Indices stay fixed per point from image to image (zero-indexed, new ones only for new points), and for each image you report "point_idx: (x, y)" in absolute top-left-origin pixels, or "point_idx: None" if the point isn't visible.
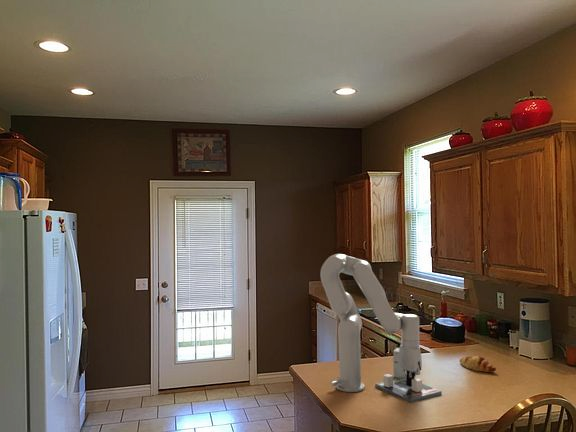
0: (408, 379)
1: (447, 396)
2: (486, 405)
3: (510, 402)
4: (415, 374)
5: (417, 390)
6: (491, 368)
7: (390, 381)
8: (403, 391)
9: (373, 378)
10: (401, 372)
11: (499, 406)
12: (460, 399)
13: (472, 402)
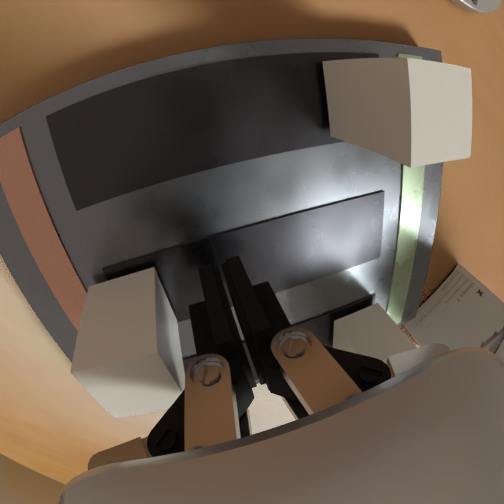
0: (216, 319)
1: (94, 407)
2: (14, 443)
3: (55, 478)
4: (137, 445)
5: (90, 301)
6: None
7: (362, 102)
8: (150, 165)
9: (498, 154)
10: (449, 315)
11: (16, 456)
12: (58, 424)
13: (31, 434)
